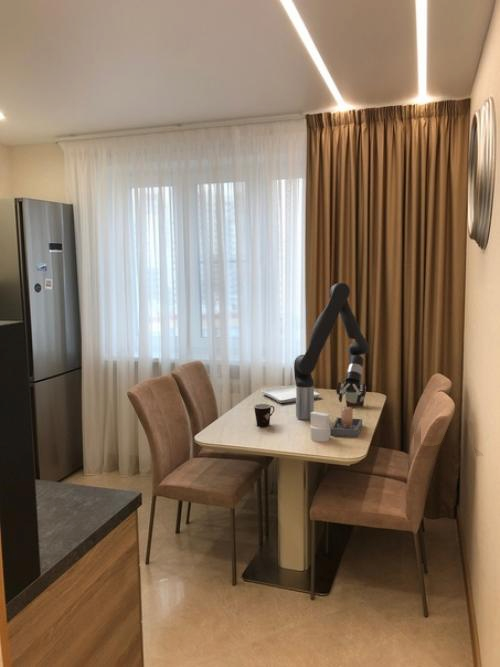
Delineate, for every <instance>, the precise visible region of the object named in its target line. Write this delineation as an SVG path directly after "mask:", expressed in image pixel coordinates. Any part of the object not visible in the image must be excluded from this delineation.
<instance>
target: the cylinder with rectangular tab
mask: <svg viewBox="0 0 500 667" xmlns="http://www.w3.org/2000/svg"><path fill="white" fill-rule="evenodd" d="M310 415H311V419H310V426H309V427H310V430H309V431H310V440H311V441H312V442H313V441H314V442H320V443H321V442H322V443H323V442H328V441H329V440H330V439H331V437H330V436H331V427H330V414H329V413H324V412H318V411H314V412H311V413H310Z"/></svg>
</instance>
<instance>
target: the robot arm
mask: <svg viewBox="0 0 500 667" xmlns="http://www.w3.org/2000/svg"><path fill="white" fill-rule="evenodd" d="M329 293H330V297H329V300H328V302H327V305H326V306H325V308H324V309H323V311H322V312H321V313H320V314H319V316H318V318H317V319H316V321H315V323H314V326H313V327H312V331H311V334H310V339H309V344H308V348H307V349H306V351H305V353H304V354H300V355H298V356H296V357H295V359H294V363H293V372H294V374H293V375H294V382H295V385H296V401H295V417H296V419H297V420H304V421H305V420H306V421H307V420H311V415H310V413H311V412H315V398H314V391H315V387H314V386H315V384H314V383H315V382H314V380H313V376H312V373H313V372H314V371H315V369H316V366H317V364H318V361H319V358H320V355H321V352H322V351H323V348H324V347H325V345H326V343H327V340H328V339H329V336H330V335H331V332H332V330H333V328H334V327H335V324H336V321H337V319H338V318H339V317H338V316H339V315H340V318H341V320H342V323H343V327H344V330H345V332H346V335H347V338H348V339H349V340H355V342H352V343H350V345H349V346H348V353H349V354H348V355H349V362H348V363H349V364H348V367H347V371H346V375H345V379H344V383H342V382H338V383H337V387H336V390H335V392H336V395H338V402H339V403H342V401H343V399H344V398H343V397H344V395H345V394H346V393H347V392H349V393H350V392H352V393H354V392H356V393H357V395H358V397H357V404H359V403H360V401H361V397H365V398H366V394H367V390H366V389H367V386H366V384H365V383H363V384H361V382H362V381H361V380H362V376H363V367H364V361H365V360H364V358H363V357H362V356H361V355H367V354H369V351H370V345H369V343H368V341H367V339H366V338H365V337H364V334H362V332H361V329H360V326H359V323H358V321H357V319H356V317H355V315H354V313H353V311H352V309H351V306H350V304H349V301H348V300H349V299H348V298H349V297H350V295H351V294H350V293H351V289H350V286H349V285H348V284H347V283H345V282H338V283H334V284H333V285H332V286H331V287H330V289H329ZM360 388H362V389H363V390H362V393H360V392H359V389H360Z"/></svg>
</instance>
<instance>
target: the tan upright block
mask: <svg viewBox="0 0 500 667" xmlns="http://www.w3.org/2000/svg"><path fill="white" fill-rule="evenodd" d="M353 408H354V407H347V406H343V407H341V408H340V410H341V412H340V413H341V414H340V415H341V416H340V418H341V423H342V429H344V424H346V429H350V425H352V429H353V417H354V416H353V415H354V414H353Z"/></svg>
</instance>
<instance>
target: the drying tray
mask: <svg viewBox="0 0 500 667" xmlns="http://www.w3.org/2000/svg"><path fill="white" fill-rule="evenodd" d="M362 427H363V418H356V417H355V418H353V429H352V425H350V429H346V424H344V429H342V423H341V417H339V416H337V417H336V419H335V420H334V422H333V424H332V425H331V427H330V436H334V437H345V438H346V437H347V438H358V437H359V434H360V432H361V430H362Z"/></svg>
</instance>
